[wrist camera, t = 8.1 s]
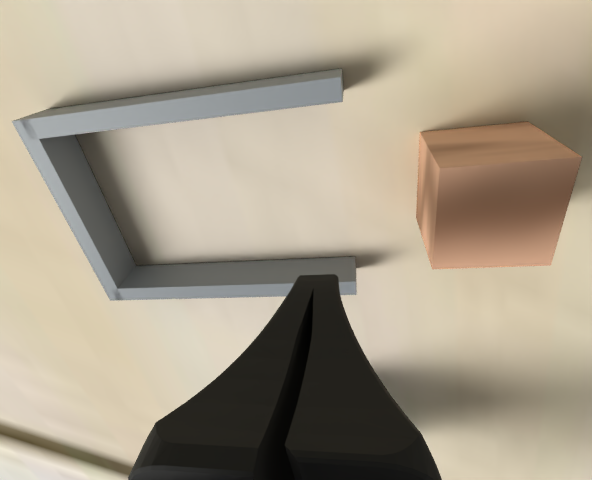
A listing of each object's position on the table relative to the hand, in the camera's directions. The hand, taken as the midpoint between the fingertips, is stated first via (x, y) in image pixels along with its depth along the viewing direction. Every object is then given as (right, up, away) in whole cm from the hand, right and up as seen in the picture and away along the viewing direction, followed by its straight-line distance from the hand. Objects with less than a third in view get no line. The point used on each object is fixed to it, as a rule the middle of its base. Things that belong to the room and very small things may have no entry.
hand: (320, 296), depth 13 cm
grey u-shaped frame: (-6, +5, +9) cm, 12 cm away
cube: (+8, +6, +7) cm, 12 cm away
